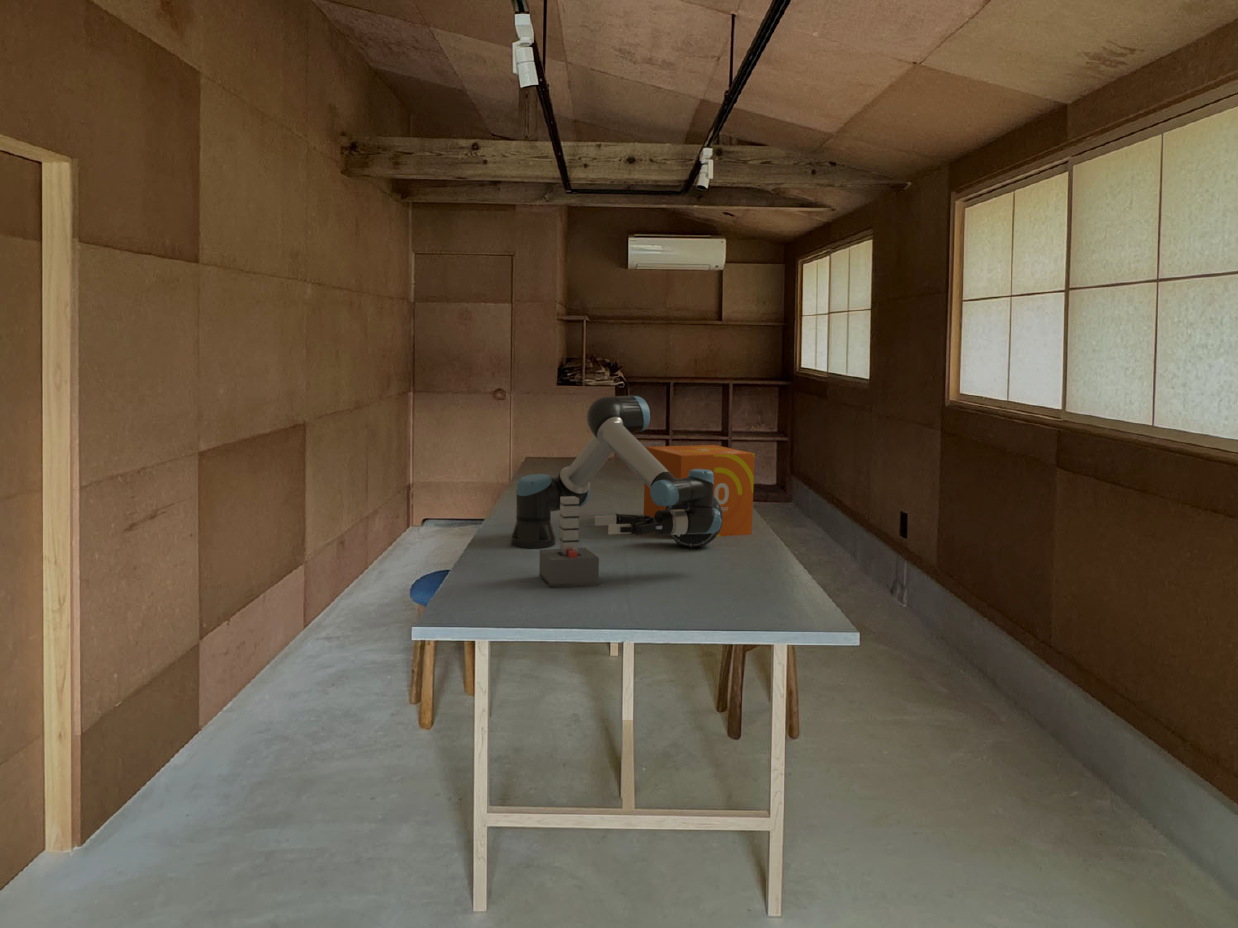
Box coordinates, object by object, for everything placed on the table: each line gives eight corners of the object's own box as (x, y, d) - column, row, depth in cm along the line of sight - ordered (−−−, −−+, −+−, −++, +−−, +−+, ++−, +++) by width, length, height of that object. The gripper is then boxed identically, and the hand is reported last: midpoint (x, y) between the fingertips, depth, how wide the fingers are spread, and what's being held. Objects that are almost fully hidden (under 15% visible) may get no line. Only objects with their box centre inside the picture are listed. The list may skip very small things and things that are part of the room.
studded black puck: (720, 551, 326) (722, 492, 323) (661, 547, 330) (662, 489, 327) (723, 545, 336) (725, 488, 334) (666, 541, 340) (667, 485, 338)
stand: (550, 587, 273) (551, 554, 272) (539, 576, 286) (539, 544, 285) (598, 585, 277) (599, 552, 276) (585, 573, 290) (585, 542, 289)
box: (678, 539, 345) (681, 455, 341) (643, 524, 372) (645, 446, 369) (751, 534, 357) (754, 453, 353) (712, 520, 384) (714, 445, 381)
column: (562, 578, 278) (563, 499, 276) (558, 574, 283) (559, 496, 280) (578, 577, 280) (579, 498, 277) (574, 573, 284) (575, 496, 282)
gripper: (684, 543, 278) (614, 546, 271) (655, 527, 301) (589, 529, 295) (685, 517, 277) (614, 520, 270) (655, 503, 300) (590, 505, 294)
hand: (601, 525), depth 283 cm, fingers open, 13 cm apart
